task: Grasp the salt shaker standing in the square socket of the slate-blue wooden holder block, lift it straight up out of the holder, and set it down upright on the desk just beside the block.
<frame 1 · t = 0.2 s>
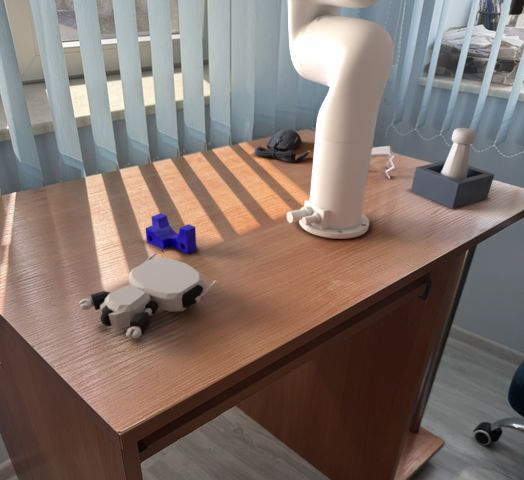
robot toy: (150, 311, 70), on the table
dark lumpy piece: (289, 152, 128), on the table
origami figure: (378, 173, 118), on the table
holder: (448, 194, 108), on the table
cable holder: (171, 247, 86), on the table
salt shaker: (448, 195, 108), resting in holder
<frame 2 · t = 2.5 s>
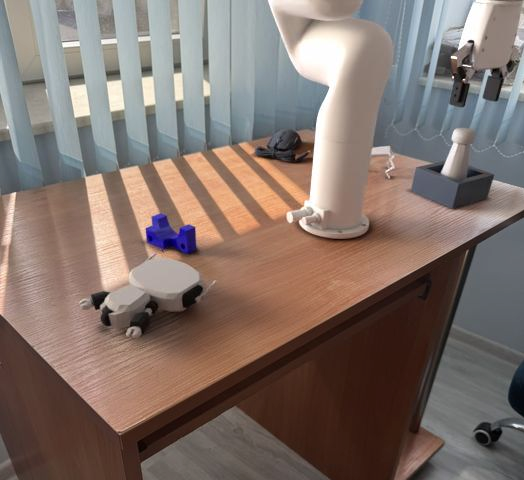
hand: (473, 102, 98), 18 cm above the table, tool pointing down, fingers open, 9 cm apart
nothing on the table moved.
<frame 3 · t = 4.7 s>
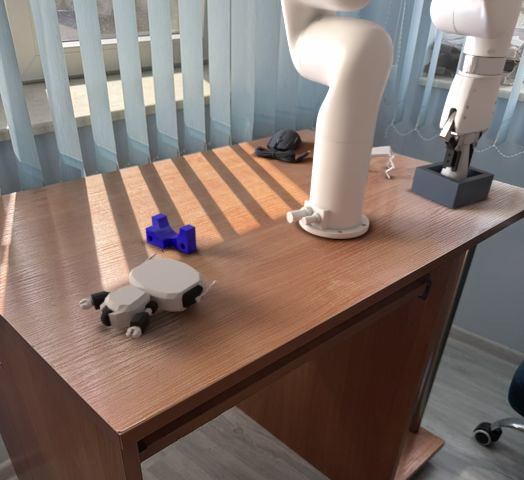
hand: (455, 167, 105), 6 cm above the table, tool pointing down, fingers closed on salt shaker, 3 cm apart
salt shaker: (448, 195, 108), resting in holder, touching gripper
everything else where it was.
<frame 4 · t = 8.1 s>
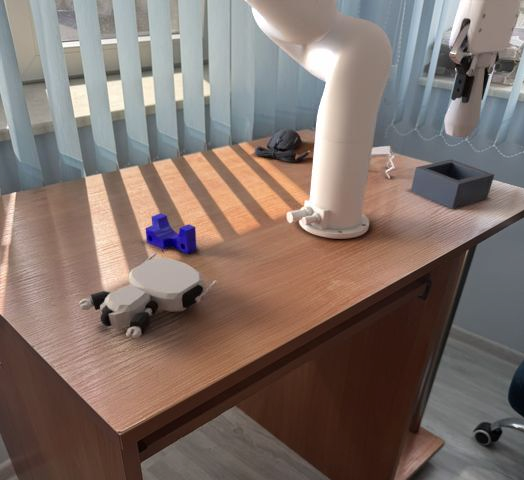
hand: (466, 99, 88), 20 cm above the table, tool pointing down, fingers closed on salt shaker, 3 cm apart
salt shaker: (457, 135, 91), point 14 cm above the table, touching gripper
everything else where it was.
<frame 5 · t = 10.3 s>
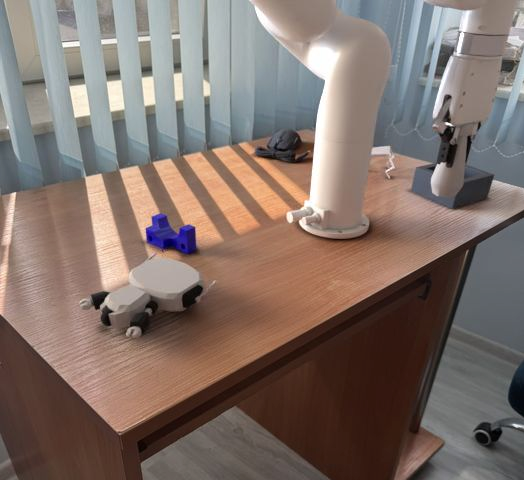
hand: (451, 162, 93), 10 cm above the table, tool pointing down, fingers closed on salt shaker, 3 cm apart
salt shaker: (443, 194, 96), point 4 cm above the table, touching gripper
everything else where it was.
when the fingers open (6 cm above the table, at t = 11.7 s): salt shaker stays where it is, on the table.
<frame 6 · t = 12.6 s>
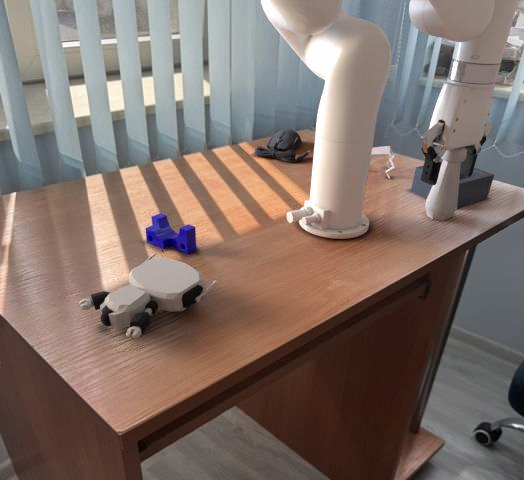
hand: (446, 178, 95), 7 cm above the table, tool pointing down, fingers open, 9 cm apart
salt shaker: (438, 217, 99), on the table
everything else where it was.
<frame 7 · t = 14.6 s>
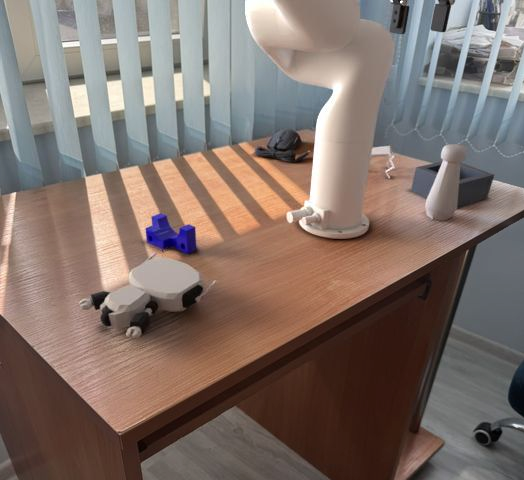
hand: (417, 32, 90), 29 cm above the table, tool pointing down, fingers open, 9 cm apart
nothing on the table moved.
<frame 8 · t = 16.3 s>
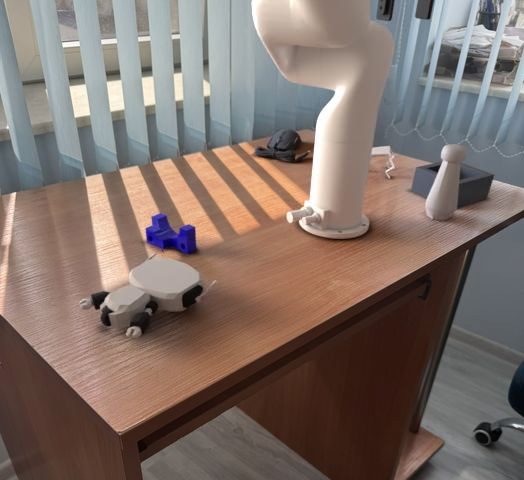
hand: (403, 19, 92), 30 cm above the table, tool pointing down, fingers open, 9 cm apart
nothing on the table moved.
at the end: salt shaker 0.1 cm from the target spot, on the table; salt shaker tilted 0°; the gripper is holding nothing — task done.
